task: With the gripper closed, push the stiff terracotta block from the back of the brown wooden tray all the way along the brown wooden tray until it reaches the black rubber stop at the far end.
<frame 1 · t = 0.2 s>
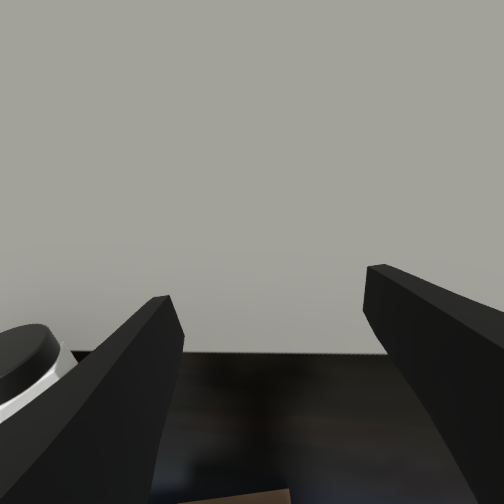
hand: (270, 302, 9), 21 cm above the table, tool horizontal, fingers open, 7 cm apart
jar: (59, 429, 27), on the table
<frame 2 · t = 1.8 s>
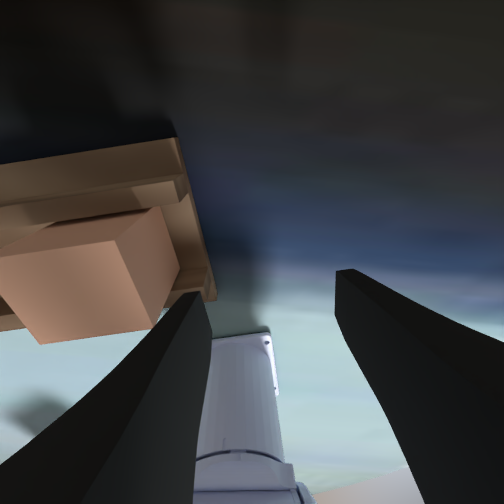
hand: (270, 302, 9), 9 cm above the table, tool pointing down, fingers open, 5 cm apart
brown wooden tray: (54, 249, 17), on the table
terracotta block: (105, 265, 14), point 4 cm above the table, slide at 0.0 cm
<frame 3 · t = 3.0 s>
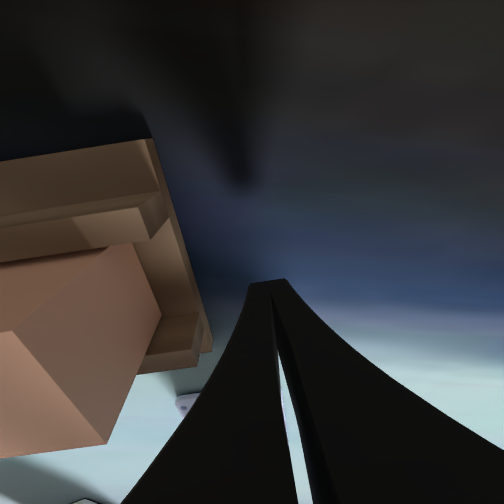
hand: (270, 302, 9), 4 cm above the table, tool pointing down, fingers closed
terracotta block: (43, 330, 9), point 4 cm above the table, slide at 0.0 cm
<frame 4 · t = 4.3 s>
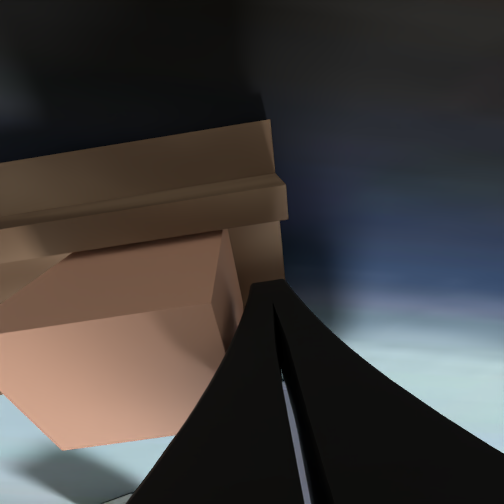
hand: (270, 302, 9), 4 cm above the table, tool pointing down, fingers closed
brown wooden tray: (80, 277, 13), on the table
terracotta block: (157, 314, 9), point 4 cm above the table, slide at 0.4 cm, touching gripper
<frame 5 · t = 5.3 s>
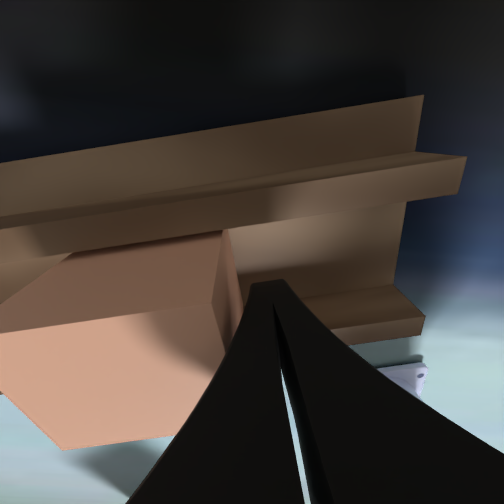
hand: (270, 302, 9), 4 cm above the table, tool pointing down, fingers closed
brown wooden tray: (186, 261, 13), on the table
terracotta block: (157, 314, 9), point 4 cm above the table, slide at 6.3 cm, touching gripper
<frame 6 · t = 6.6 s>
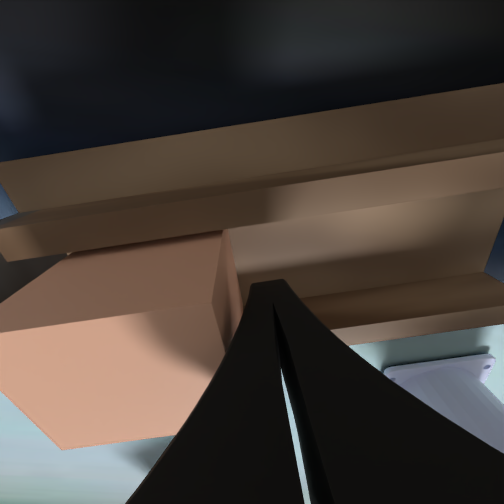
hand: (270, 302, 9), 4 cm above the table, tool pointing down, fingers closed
brown wooden tray: (276, 247, 13), on the table
terracotta block: (156, 314, 9), point 4 cm above the table, slide at 11.3 cm, touching gripper
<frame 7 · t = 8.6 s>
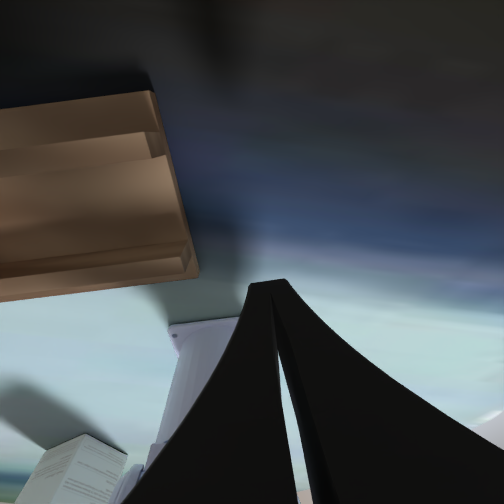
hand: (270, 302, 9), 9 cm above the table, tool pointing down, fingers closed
brown wooden tray: (23, 217, 16), on the table
supplement box: (89, 451, 30), on the table
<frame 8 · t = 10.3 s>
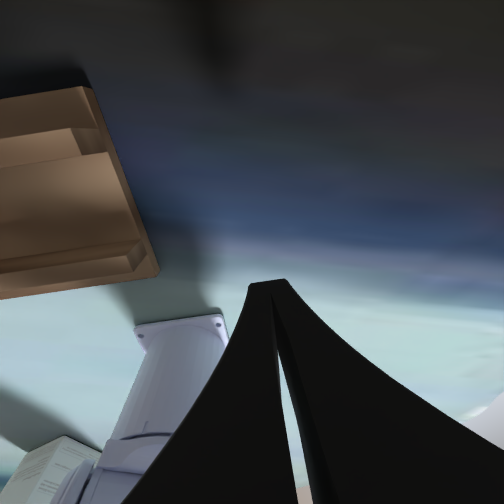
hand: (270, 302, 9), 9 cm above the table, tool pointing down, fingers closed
supplement box: (71, 452, 30), on the table
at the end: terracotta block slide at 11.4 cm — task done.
